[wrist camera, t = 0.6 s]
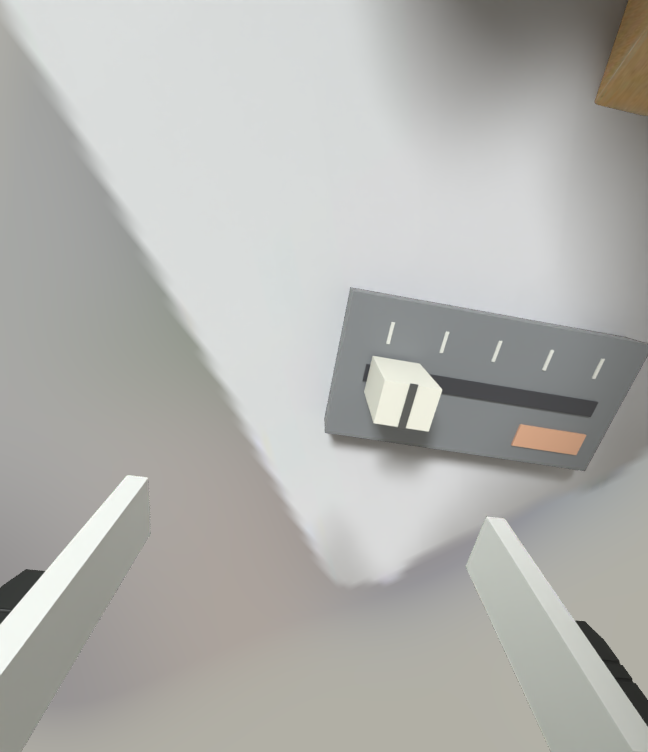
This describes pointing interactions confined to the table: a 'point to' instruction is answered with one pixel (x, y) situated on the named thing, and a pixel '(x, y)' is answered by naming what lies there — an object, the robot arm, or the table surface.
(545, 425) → the fader console
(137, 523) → the robot arm
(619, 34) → the sandwich container
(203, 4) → the table surface
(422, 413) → the fader knob
